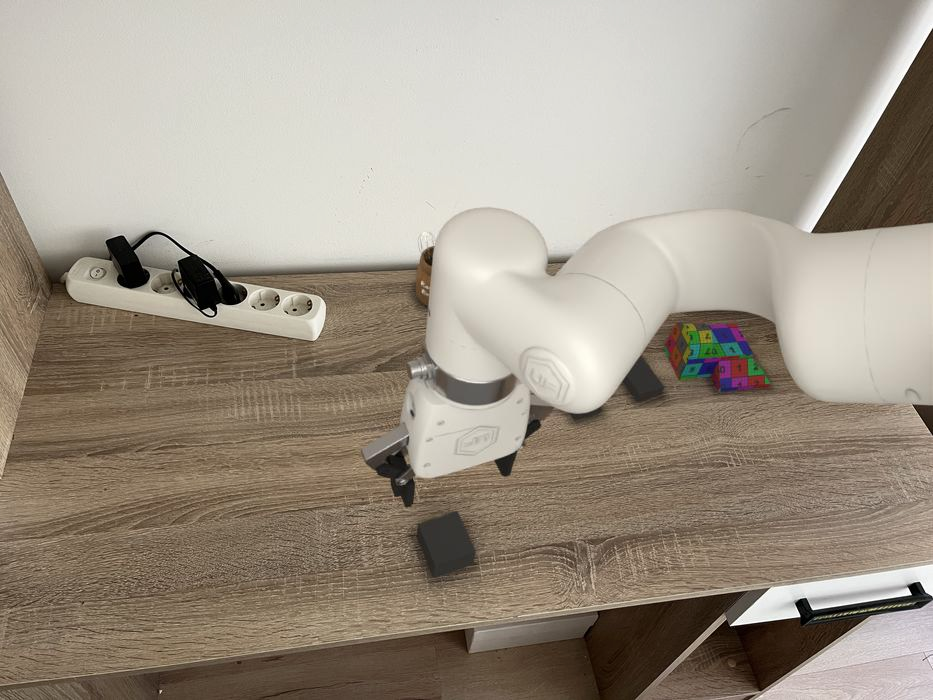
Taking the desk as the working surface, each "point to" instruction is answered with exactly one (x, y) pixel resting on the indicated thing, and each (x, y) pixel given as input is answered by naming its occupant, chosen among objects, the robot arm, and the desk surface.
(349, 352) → the desk surface
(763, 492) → the desk surface
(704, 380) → the desk surface
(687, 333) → the block
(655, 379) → the big pad
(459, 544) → the small black box
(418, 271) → the utensil holder
